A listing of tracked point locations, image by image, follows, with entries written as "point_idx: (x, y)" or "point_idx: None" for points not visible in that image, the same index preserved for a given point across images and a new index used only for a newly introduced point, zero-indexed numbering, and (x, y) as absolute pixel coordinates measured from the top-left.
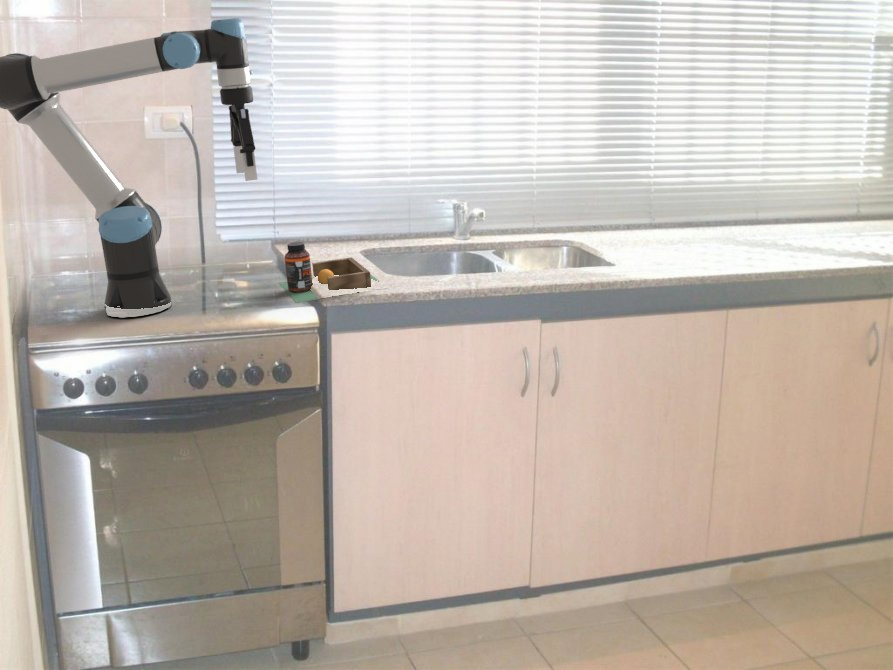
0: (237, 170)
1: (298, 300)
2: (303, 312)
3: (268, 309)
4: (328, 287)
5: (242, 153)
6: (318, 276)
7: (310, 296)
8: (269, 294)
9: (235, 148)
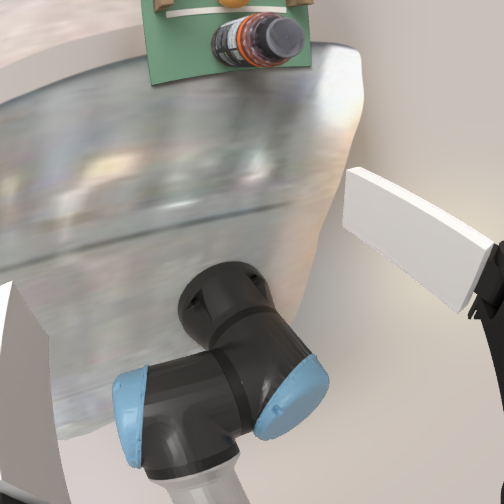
0: (46, 347)
1: (301, 60)
2: (349, 65)
3: (312, 109)
4: (294, 5)
5: (464, 304)
6: (241, 6)
7: None
8: (223, 103)
9: (60, 493)
